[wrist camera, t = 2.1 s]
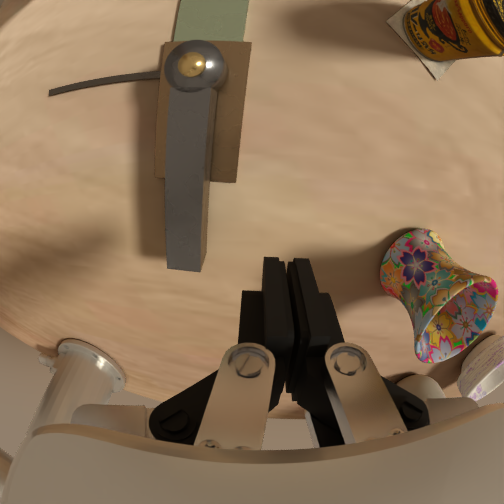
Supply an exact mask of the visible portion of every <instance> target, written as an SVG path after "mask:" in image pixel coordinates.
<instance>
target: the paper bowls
mask: <svg viewBox="0 0 504 504" xmlns="http://www.w3.org/2000/svg"><path fill="white" fill-rule="evenodd" d="M503 381H504V336H502V337H501V336H499V335H492V336H489V337H487V338H486V339H484V340H483V341H481V342H480V343H479V344H478V345H477V346H476V347H475V348H474V349H473V350H472V351H471V352H470V353H469V354H468V356H467V357H466V359H465V360H464V362H463V364H462V369H461V374H460V376H459V378H458V380H457V386H458V388H459V391H460V393H461V395H462V397H469V398H471V399H473V400H474V401H477V400H479V399H481V398H482V397H484V396H486V395H487V394H489V393H490V392H491V391H492V390H494V389H495V388H497V387H498V385H500V384H501V383H502V382H503Z"/></svg>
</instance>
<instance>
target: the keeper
mask: <svg viewBox="0 0 504 504" xmlns="http://www.w3.org/2000/svg"><path fill="white" fill-rule="evenodd" d="M248 3H249V0H181V3H180V7H179V12H178V18H177V23H176V29H175V35H174V41H190V40H210V41H239V42H243V38H244V30H245V23H246V17H247V10H248ZM174 41H173V42H174Z"/></svg>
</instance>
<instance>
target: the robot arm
mask: <svg viewBox="0 0 504 504" xmlns="http://www.w3.org/2000/svg"><path fill="white" fill-rule="evenodd" d="M58 355H59V356H58V357H53V358H52V357H50V356H48V355H46V354H43V353H41V354H40V355H39V362H40V363H41V364H43V365H46V366H48V367H50V372H51V373H53V374H54V376H53V378H52V379H51V381H50V383H49V385H48V387H47V389H46V391H45V393H44V395H43V397H42V399H41V401H40V404H39V406H38V408H37V410H36V412H35V414H34V416H33V419H32V421H31V423H30V425H29V428H28V431H27V435H26V437H25V439H24V440H23V442H22V443H21V445H20V447H19V449H18V451H17V452H16V454H15V457H12V456H11V455H9V454H8V453H7V452H5V451H4V450H3V449H1V448H0V504H504V403H495V404H489V405H485V406H482V407H478V404H477V403H476V402H475V401H474V400H473V399H471V398H469V397H457V398H427V399H426V400H425V401H423V400H421V399H420V398H419V397H417V396H415V395H413V394H412V393H410V392H408V391H406V390H405V389H403V388H401V387H399V386H398V385H396V384H394V383H392V382H391V381H389V380H387V379H385V378H384V377H382V376H380V374H379V372H378V370H377V368H376V366H375V365H374V363H373V361H372V359H371V357H370V355H369V354H368V353H367V351H366V350H364V349H363V348H362V347H360V346H358V345H356V344H353V343H348V342H347V343H345V341H344V338H343V335H342V332H341V328H340V325H339V322H338V319H337V316H336V312H335V309H334V306H333V303H332V300H331V297H330V295H329V294H328V293H319V291H318V287H317V284H316V280H315V277H314V274H313V271H312V267H311V264H310V261H309V259H304V258H294V259H293V262H288V266H287V274H286V269H285V263H284V261H279V258H278V257H264V262H263V277H262V291H244V290H242V299H241V312H240V324H239V337H238V344H237V345H235V346H233V347H231V348H230V349H228V350H227V351H226V353H225V354H224V356H223V358H222V361H221V364H220V367H219V369H218V370H217V371H215V372H214V373H212V374H210V375H209V376H207V377H206V378H204V379H202V380H201V381H199V382H197V383H196V384H194V385H192V386H191V387H189V388H187V389H186V390H184V391H182V392H181V393H179V394H177V395H175V396H174V397H172V398H170V399H168V400H167V401H165V402H163V403H161V404H160V405H159V406H157V407H156V408H146V407H145V406H144V405H142V406H141V405H140V406H139V405H138V406H137V405H136V406H134V405H107V404H108V402H109V399H110V396H111V394H112V393H115V392H119V391H121V390H123V388H124V386H125V383H126V378H125V375H124V373H123V371H122V369H121V368H120V367H119V366H118V364H117V363H116V362H115V361H114V360H113V359H111V358H110V357H109V356H108V355H107V354H105V353H104V352H102V351H101V350H99V349H98V348H96V347H94V346H92V345H90V344H88V343H86V342H83V341H80V340H75V339H67V340H64V341H62V343H61V344H60V346H59V348H58ZM284 383H285V385H286V393H291V394H292V401H297V404H298V405H300V406H301V407H303V408H304V413H305V418H306V421H307V425H308V428H309V432H310V435H311V439H312V442H313V446H314V448H311V449H298V450H261V448H262V443H263V438H264V432H265V426H266V420H267V415H268V412H269V411H271V410H272V409H273V408H274V407H275V406H277V405H278V403H279V399H280V395H281V393H282V391H283V387H284Z"/></svg>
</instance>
